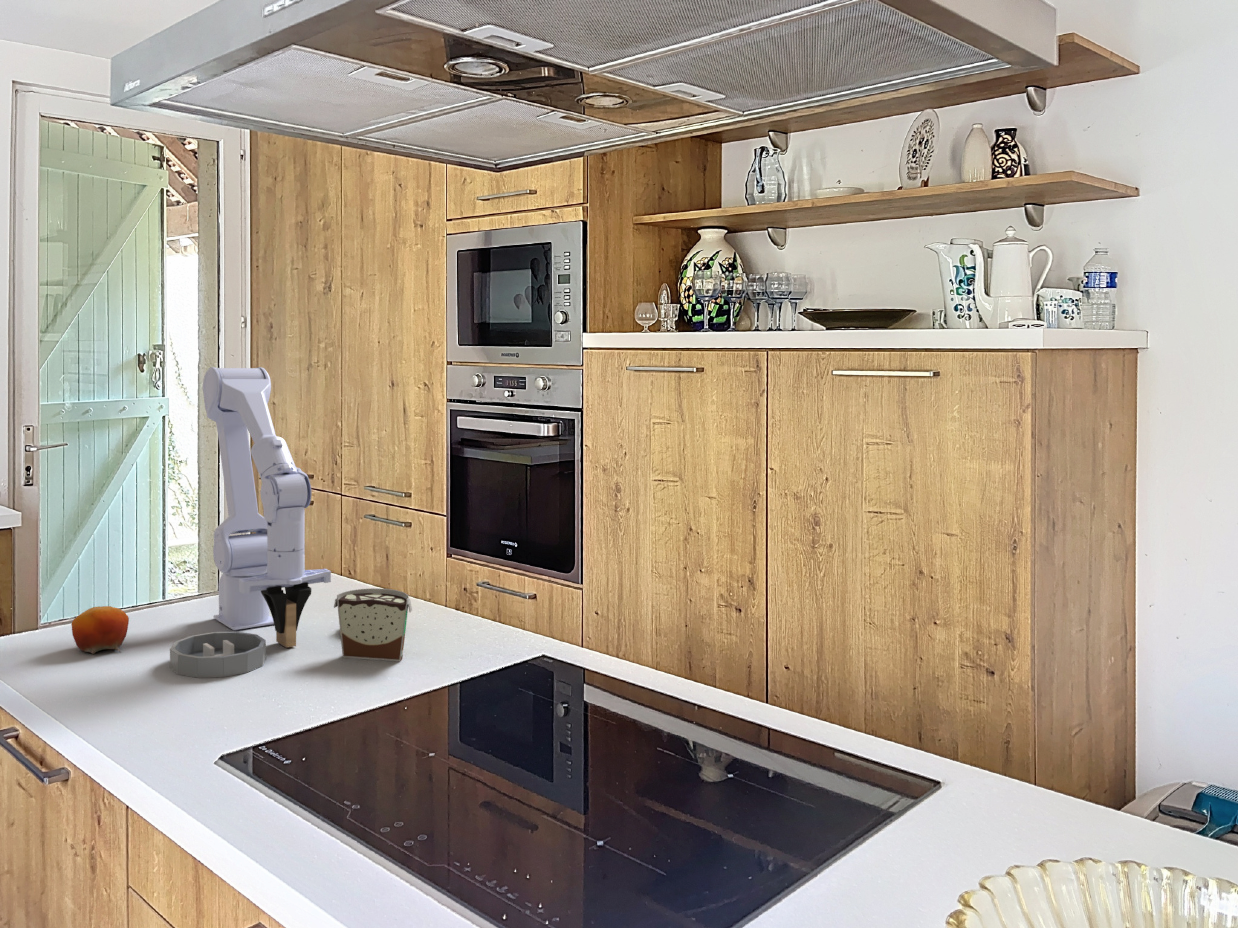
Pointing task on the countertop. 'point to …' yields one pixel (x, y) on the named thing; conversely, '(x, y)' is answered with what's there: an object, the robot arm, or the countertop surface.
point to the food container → (373, 623)
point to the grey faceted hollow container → (217, 654)
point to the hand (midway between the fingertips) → (286, 630)
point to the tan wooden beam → (288, 626)
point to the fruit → (100, 629)
